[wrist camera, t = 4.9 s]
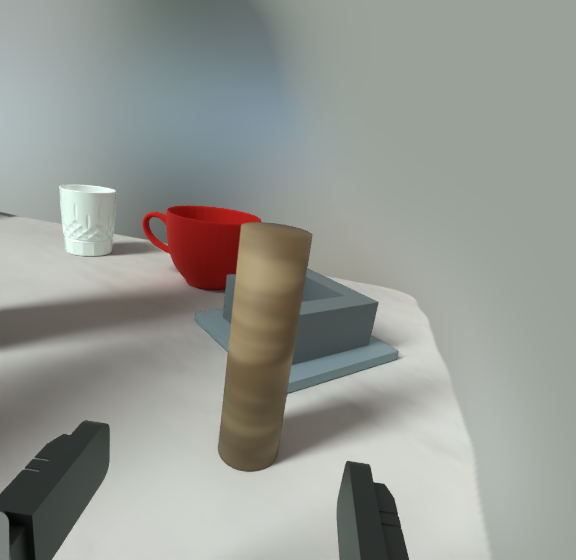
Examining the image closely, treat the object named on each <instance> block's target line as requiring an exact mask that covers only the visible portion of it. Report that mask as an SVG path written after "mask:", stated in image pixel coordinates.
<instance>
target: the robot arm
mask: <svg viewBox="0 0 576 560" xmlns="http://www.w3.org/2000/svg"><path fill="white" fill-rule="evenodd" d="M109 447H110V429H109V425H108V424H105V423H99V422H93V421H83V422H82V423H81V424H80V425H79V426H78V427H77V428H76V430H75V431H74V432H73V433H72V434H71V435H67V434H63V435H61V436H59V437H58V438H56V439H54V440H53V441H51V442H49V443H48V444H46V446H45V447H44V448H43V449H42V450H41V451H40V452H39V453H38V454H37V455H36V456H35V459H32V461H31V462H30V463H29V464H28V465H27V466H26V467H25V470H22V471H21V472H20V473H19V474H18V476H17V477H16V478H15V479H14V480H13V481H12V482H11V483H10V484H9V485H8V486H7V487H6V488H5V489H4V491H3V492H2V493H1V494H0V560H52V558H53V557H54V555H55V554H56V552H57V551H58V549H59V548H60V546H61V545H62V543H63V542H64V540H65V539H66V537H67V535H68V534H69V532H70V531H71V529H72V528H73V526H74V525H75V523H76V522H77V520H78V519H79V517H80V515H81V514H82V512H83V511H84V509H85V508H86V506H87V505H88V503H89V502H90V500H91V499H92V497H93V496H94V494H95V492H96V491H97V489H98V488H99V486H100V485H101V483H102V482H103V480H104V478H105V476H106V473H107V470H108V466H109ZM337 529H338V544H339V558H340V560H409V557H408V553H407V549H406V545H405V541H404V537H403V533H402V529H401V524H400V520H399V517H398V512H397V508H396V504H395V500H394V497H393V496H392V494H391V493H390V491H389V490H388V488H387V487H386V485H385V484H381V483H375V482H373V478H372V473H371V468H370V465H369V464H364V463H358V462H351V461H347V462H346V464H345V469H344V473H343V477H342V482H341V486H340V491H339V495H338V501H337Z"/></svg>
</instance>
